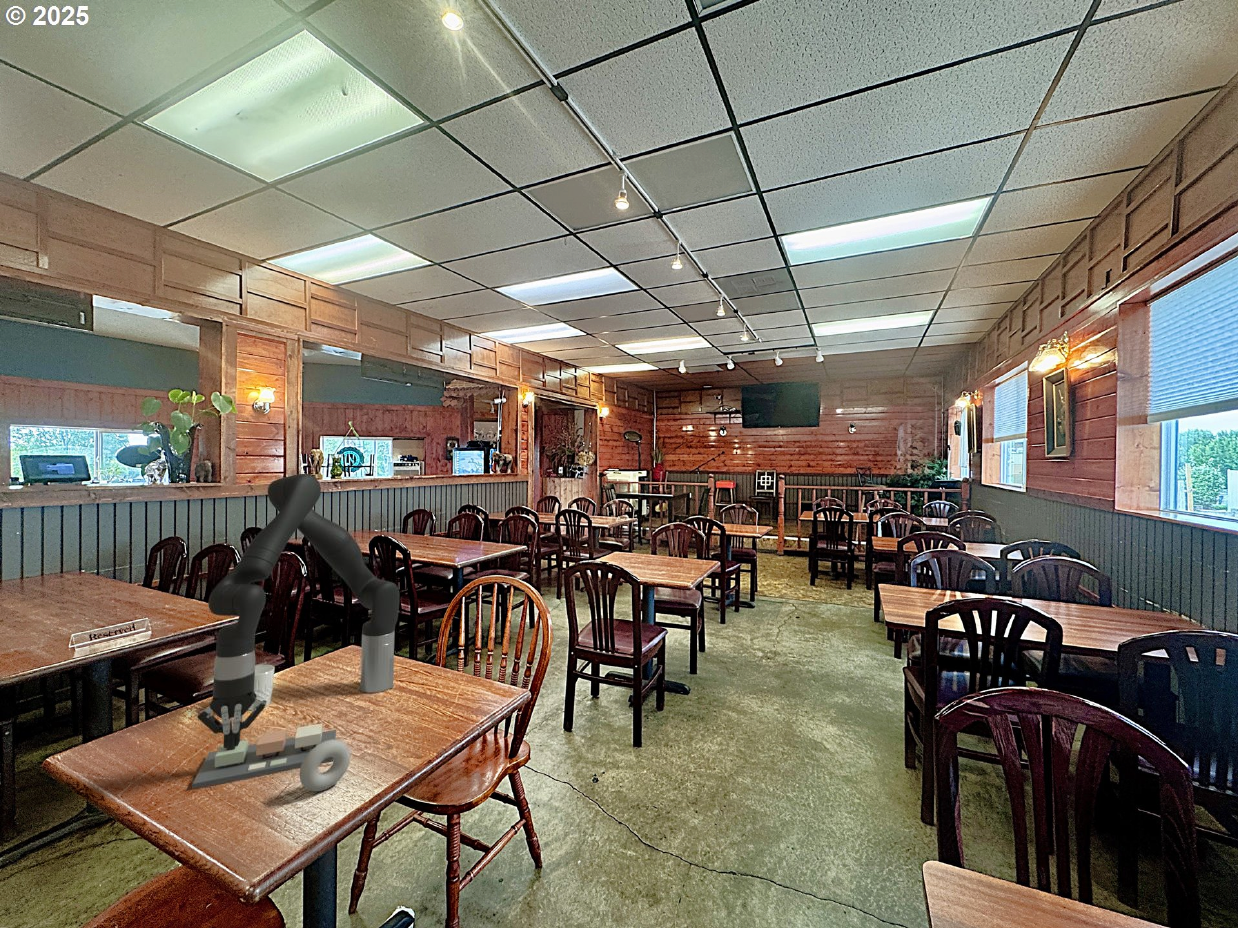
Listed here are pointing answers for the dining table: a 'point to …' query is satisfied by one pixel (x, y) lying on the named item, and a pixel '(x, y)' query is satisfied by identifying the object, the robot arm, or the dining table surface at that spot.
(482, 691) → the dining table surface
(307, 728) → the cream key
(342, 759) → the donut
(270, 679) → the white cup
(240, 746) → the sage key
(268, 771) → the keypad plate
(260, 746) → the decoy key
